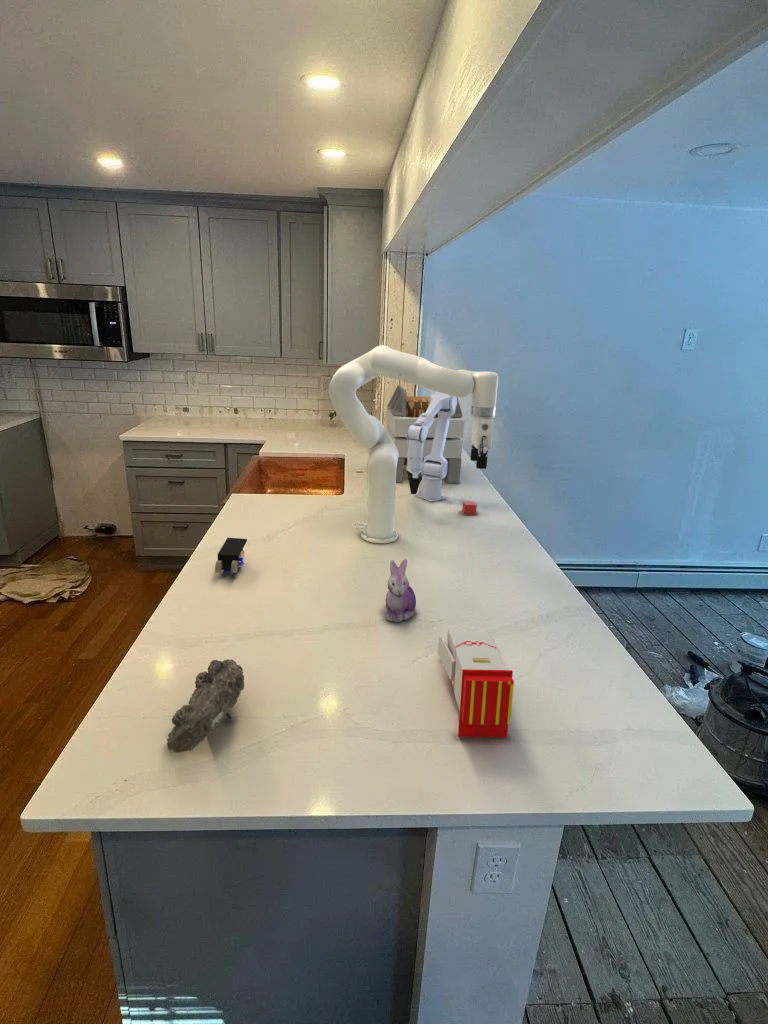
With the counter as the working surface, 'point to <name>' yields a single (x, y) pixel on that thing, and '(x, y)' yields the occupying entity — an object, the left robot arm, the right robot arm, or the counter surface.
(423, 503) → the counter surface
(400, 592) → the figurine
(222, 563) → the figurine character
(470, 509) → the cube
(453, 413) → the right robot arm
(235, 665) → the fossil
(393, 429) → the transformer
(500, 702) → the toy
